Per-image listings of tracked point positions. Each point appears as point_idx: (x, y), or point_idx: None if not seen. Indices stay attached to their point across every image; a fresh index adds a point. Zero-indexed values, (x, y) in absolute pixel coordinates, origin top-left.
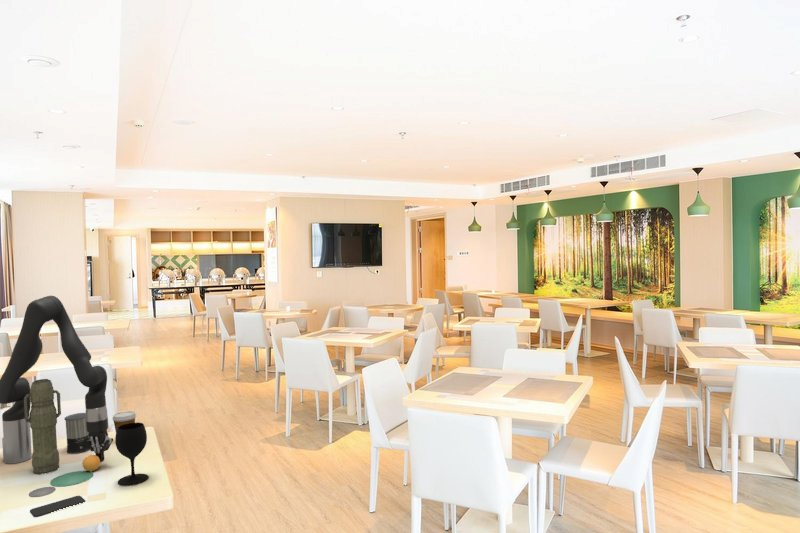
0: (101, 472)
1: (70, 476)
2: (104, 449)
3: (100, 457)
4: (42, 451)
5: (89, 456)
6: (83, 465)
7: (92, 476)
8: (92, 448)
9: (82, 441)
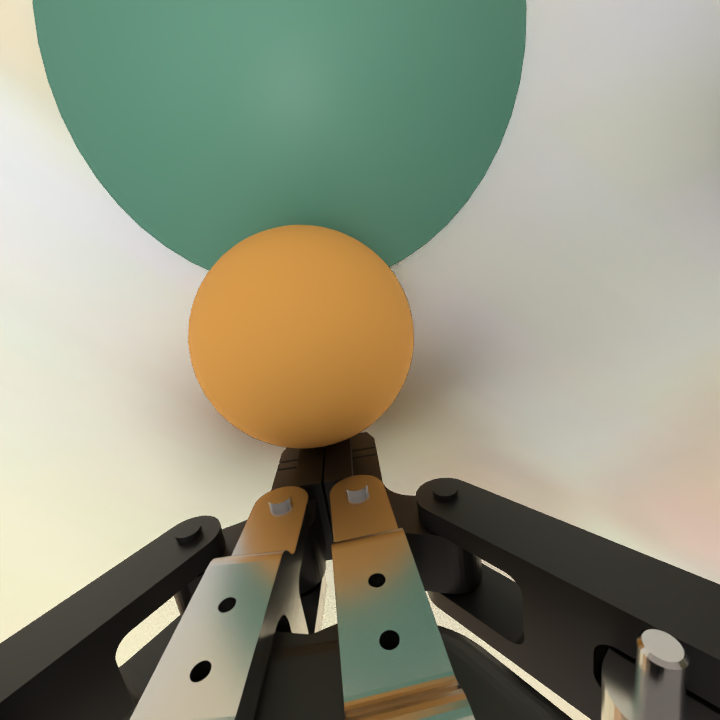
0: (163, 330)
1: (360, 74)
2: (117, 571)
3: (291, 468)
4: None
5: (272, 328)
6: (315, 226)
7: (120, 203)
8: (432, 518)
9: None
